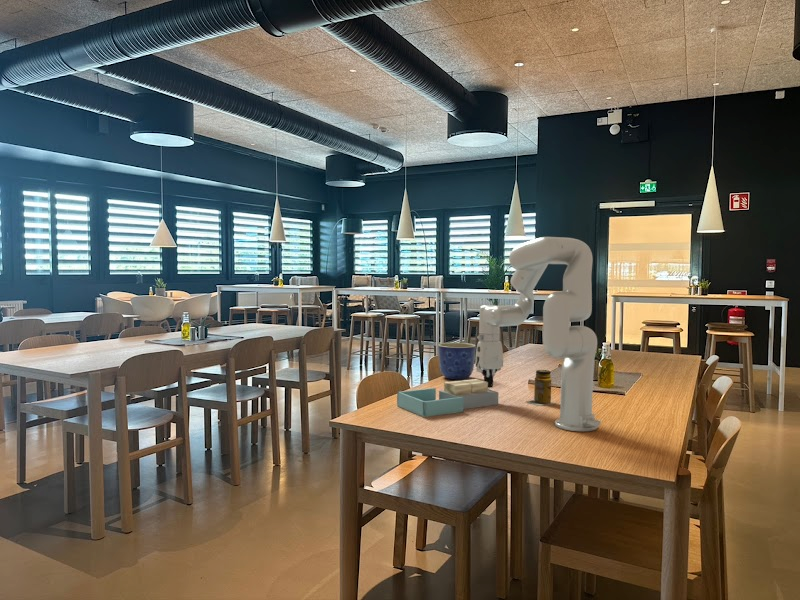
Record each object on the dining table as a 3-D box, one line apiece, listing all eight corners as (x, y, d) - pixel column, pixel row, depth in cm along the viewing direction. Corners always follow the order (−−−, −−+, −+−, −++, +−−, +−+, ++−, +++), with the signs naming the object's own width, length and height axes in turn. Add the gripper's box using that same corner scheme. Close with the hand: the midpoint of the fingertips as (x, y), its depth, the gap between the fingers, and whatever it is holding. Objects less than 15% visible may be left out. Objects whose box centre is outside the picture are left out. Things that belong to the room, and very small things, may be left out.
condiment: (555, 403, 209) (556, 371, 209) (540, 406, 205) (540, 373, 204) (541, 399, 215) (541, 368, 215) (525, 402, 211) (525, 370, 210)
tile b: (471, 393, 203) (471, 384, 203) (455, 395, 200) (455, 385, 199) (459, 390, 209) (459, 380, 209) (444, 391, 206) (444, 382, 205)
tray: (463, 411, 195) (463, 397, 195) (423, 417, 187) (424, 402, 187) (434, 401, 210) (434, 387, 210) (397, 405, 202) (397, 392, 202)
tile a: (487, 391, 207) (487, 382, 207) (472, 393, 203) (472, 383, 203) (475, 388, 213) (476, 379, 213) (460, 390, 209) (460, 380, 209)
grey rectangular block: (498, 404, 206) (498, 392, 206) (458, 409, 197) (458, 397, 197) (477, 398, 217) (478, 386, 216) (438, 402, 208) (439, 390, 208)
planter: (435, 380, 251) (436, 346, 250) (439, 374, 268) (440, 342, 267) (474, 382, 248) (475, 347, 248) (475, 375, 265) (476, 343, 264)
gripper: (479, 340, 204) (478, 390, 204) (511, 338, 211) (510, 386, 212) (467, 338, 210) (466, 386, 211) (498, 336, 217) (497, 383, 218)
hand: (488, 386), depth 211 cm, fingers closed
